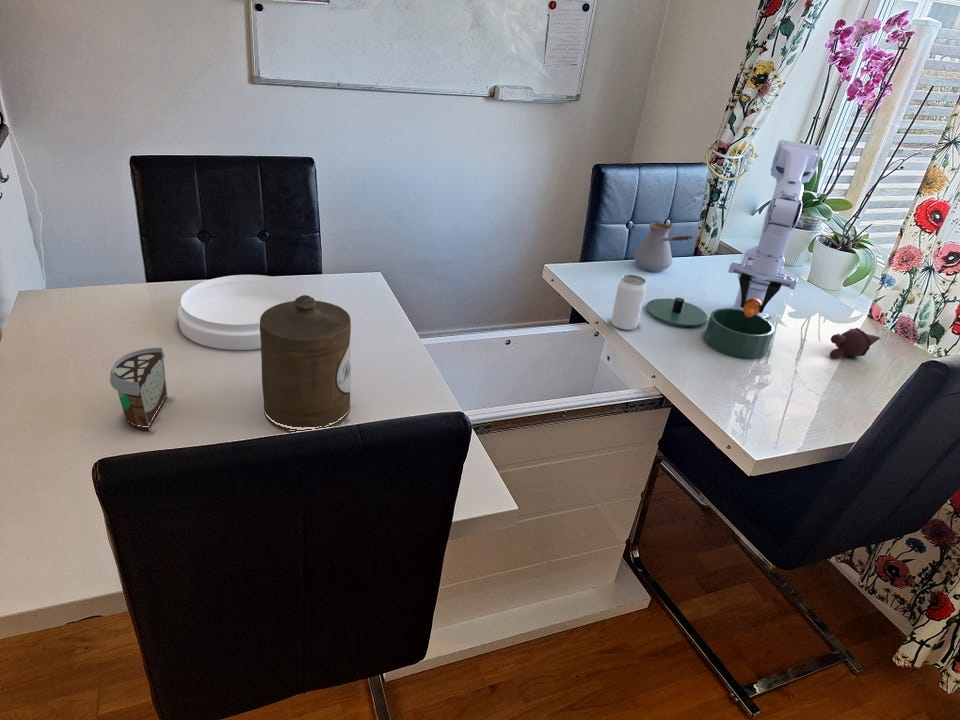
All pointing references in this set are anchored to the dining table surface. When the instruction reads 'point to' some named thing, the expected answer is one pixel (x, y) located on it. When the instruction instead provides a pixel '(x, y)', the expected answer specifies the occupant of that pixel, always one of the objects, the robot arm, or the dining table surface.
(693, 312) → the pot lid
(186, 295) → the plate
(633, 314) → the can
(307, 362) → the wooden container
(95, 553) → the dining table surface
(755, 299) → the carrot
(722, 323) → the pot
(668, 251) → the coffee pot
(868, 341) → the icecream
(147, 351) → the food container
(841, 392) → the dining table surface
